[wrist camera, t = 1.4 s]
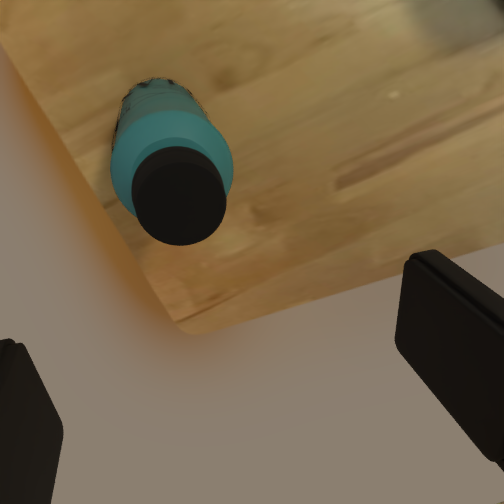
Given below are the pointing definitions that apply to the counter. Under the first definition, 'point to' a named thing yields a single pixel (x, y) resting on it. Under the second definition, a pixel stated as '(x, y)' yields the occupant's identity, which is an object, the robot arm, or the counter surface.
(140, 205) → the beverage bottle
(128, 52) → the counter surface
